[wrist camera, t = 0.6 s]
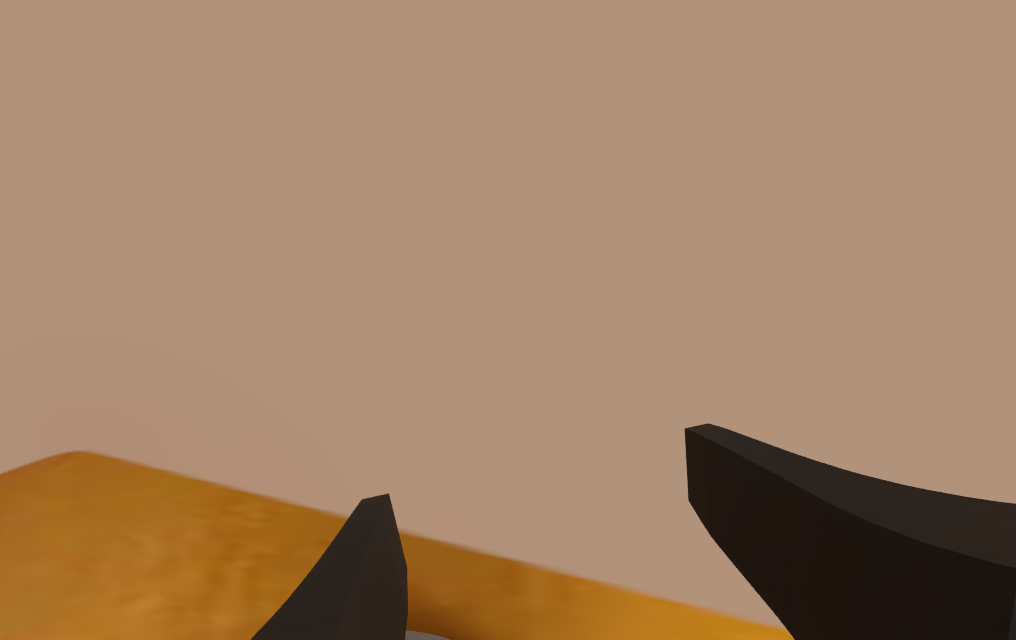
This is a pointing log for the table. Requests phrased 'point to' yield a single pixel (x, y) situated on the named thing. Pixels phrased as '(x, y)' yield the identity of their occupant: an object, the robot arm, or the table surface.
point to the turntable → (422, 636)
